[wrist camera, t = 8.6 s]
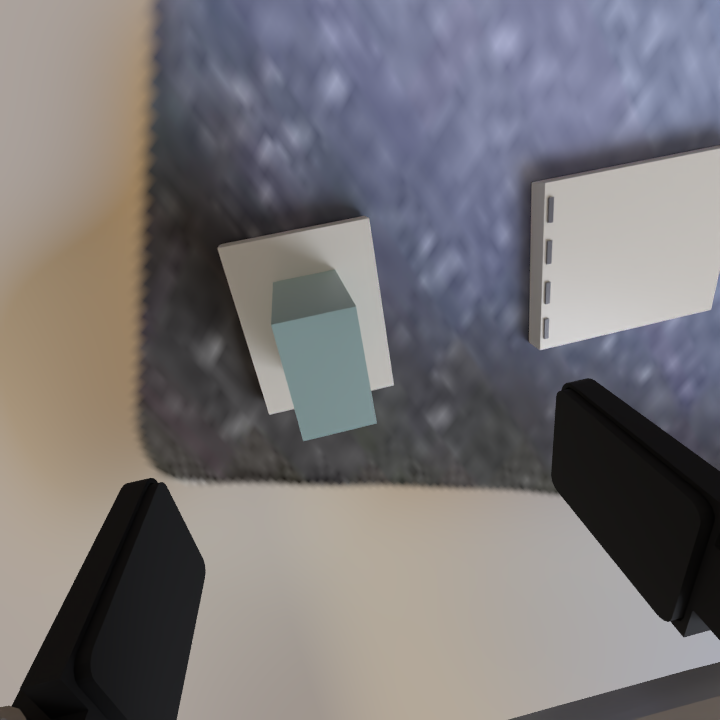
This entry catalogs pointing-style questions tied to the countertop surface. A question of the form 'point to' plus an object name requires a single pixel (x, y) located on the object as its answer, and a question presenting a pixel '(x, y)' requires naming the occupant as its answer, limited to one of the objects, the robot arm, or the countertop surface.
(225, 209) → the countertop surface
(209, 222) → the countertop surface
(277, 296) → the stub
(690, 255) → the ticket
